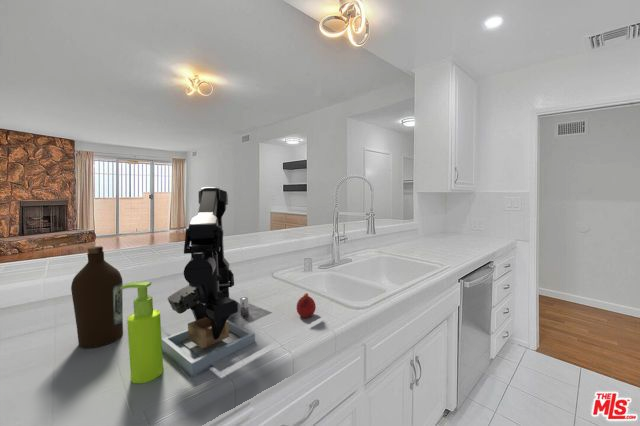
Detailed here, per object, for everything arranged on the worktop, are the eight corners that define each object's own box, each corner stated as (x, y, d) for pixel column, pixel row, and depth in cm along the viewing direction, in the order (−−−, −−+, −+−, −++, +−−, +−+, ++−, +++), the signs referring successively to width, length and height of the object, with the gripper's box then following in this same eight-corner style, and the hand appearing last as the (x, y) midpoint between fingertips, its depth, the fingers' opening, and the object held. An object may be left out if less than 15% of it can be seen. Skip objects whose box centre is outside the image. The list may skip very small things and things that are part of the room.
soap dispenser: (135, 367, 62) (130, 279, 61) (168, 365, 63) (163, 278, 62) (119, 385, 57) (112, 288, 55) (155, 382, 57) (149, 286, 56)
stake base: (216, 318, 86) (216, 299, 86) (249, 306, 96) (248, 289, 95) (239, 330, 79) (238, 309, 78) (272, 315, 88) (271, 297, 87)
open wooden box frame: (188, 339, 69) (187, 323, 69) (214, 328, 75) (214, 313, 74) (202, 348, 65) (201, 332, 64) (229, 336, 70) (228, 321, 70)
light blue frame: (162, 350, 69) (161, 339, 69) (221, 326, 81) (221, 316, 81) (192, 377, 58) (191, 363, 58) (255, 345, 71) (254, 333, 70)
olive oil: (69, 354, 68) (61, 253, 66) (83, 335, 77) (76, 246, 76) (121, 343, 73) (115, 248, 71) (128, 326, 82) (123, 242, 80)
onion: (313, 323, 82) (312, 297, 81) (294, 322, 83) (293, 296, 82) (317, 315, 87) (317, 290, 87) (299, 314, 89) (299, 289, 88)
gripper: (155, 273, 68) (159, 335, 69) (190, 289, 56) (194, 363, 57) (199, 264, 77) (202, 319, 78) (238, 276, 65) (241, 341, 66)
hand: (208, 334), depth 70 cm, fingers closed on open wooden box frame, 7 cm apart
